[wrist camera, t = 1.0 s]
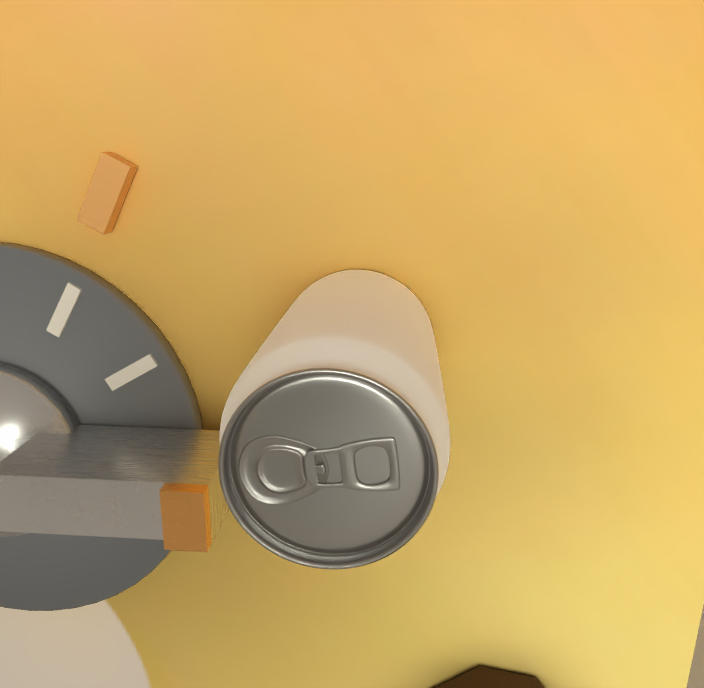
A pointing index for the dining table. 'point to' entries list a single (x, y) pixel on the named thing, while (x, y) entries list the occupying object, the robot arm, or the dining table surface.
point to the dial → (102, 473)
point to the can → (338, 426)
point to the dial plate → (84, 411)
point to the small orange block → (107, 192)
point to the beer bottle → (491, 679)
